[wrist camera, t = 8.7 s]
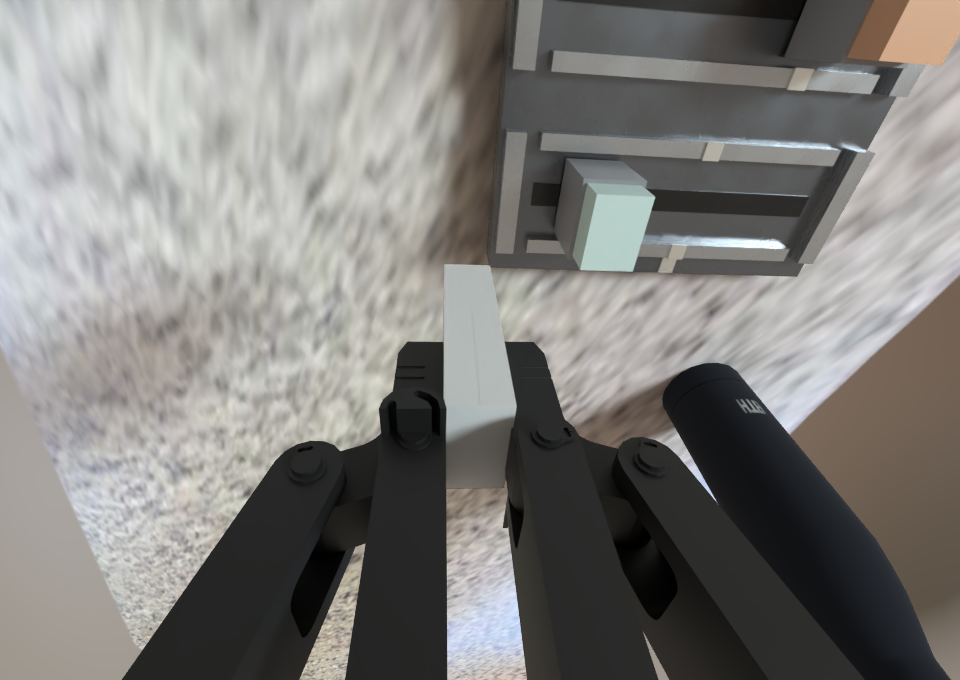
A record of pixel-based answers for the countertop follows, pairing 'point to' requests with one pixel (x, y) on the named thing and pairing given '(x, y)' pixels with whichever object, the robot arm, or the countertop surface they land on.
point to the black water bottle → (799, 524)
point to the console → (682, 129)
